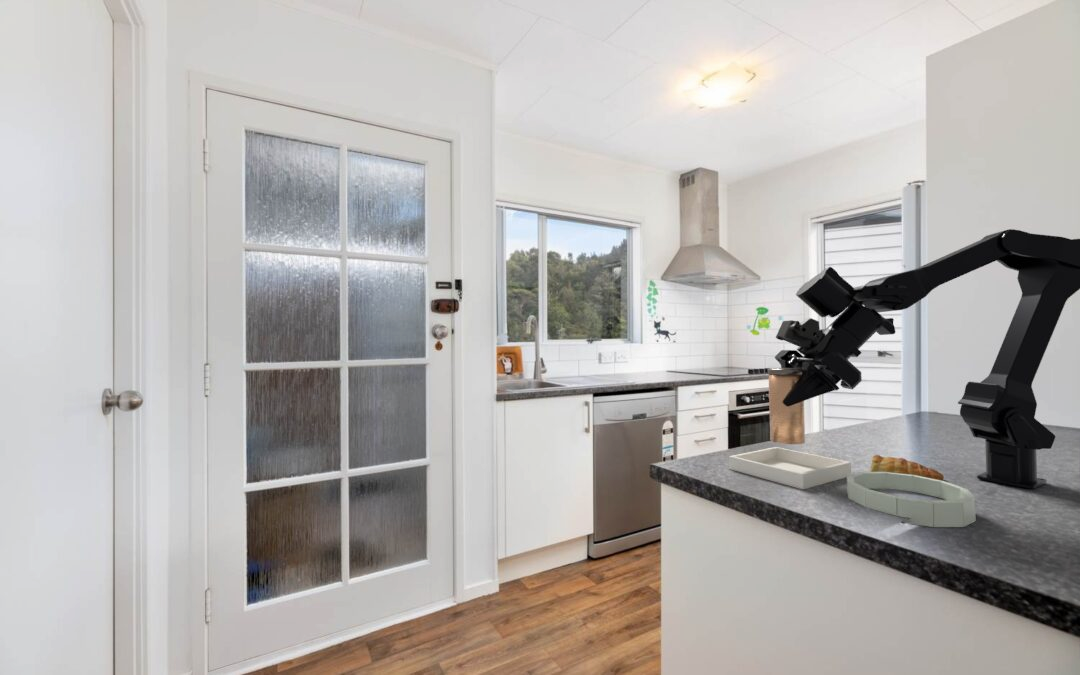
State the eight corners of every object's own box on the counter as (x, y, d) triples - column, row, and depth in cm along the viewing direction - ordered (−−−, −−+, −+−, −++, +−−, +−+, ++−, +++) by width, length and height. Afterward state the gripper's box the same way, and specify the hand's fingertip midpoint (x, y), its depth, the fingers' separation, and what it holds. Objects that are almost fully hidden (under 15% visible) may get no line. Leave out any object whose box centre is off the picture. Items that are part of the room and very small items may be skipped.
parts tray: (776, 462, 87) (776, 446, 87) (851, 480, 75) (850, 462, 75) (729, 473, 80) (728, 456, 80) (803, 494, 69) (802, 474, 69)
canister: (782, 436, 82) (780, 367, 82) (812, 441, 77) (810, 368, 77) (762, 440, 79) (760, 368, 79) (793, 445, 74) (790, 370, 74)
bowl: (876, 486, 72) (876, 467, 72) (991, 513, 60) (990, 490, 60) (828, 501, 66) (827, 480, 66) (945, 535, 54) (945, 510, 54)
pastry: (944, 482, 74) (943, 459, 74) (943, 493, 69) (942, 468, 69) (873, 472, 80) (872, 450, 80) (867, 481, 75) (867, 458, 75)
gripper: (784, 307, 87) (726, 366, 88) (837, 298, 68) (762, 373, 70) (829, 348, 86) (770, 407, 87) (895, 349, 68) (818, 424, 69)
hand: (777, 402), depth 78 cm, fingers closed on canister, 5 cm apart
